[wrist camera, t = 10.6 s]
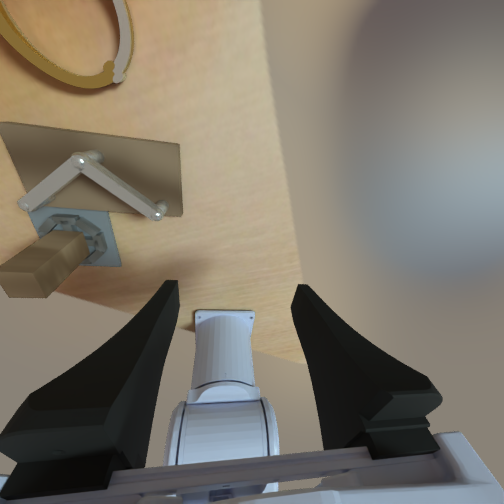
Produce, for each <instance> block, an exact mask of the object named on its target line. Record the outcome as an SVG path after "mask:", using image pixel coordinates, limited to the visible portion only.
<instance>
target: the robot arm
mask: <svg viewBox="0 0 504 504" xmlns="http://www.w3.org/2000/svg"><path fill="white" fill-rule="evenodd" d="M179 307H180V302H179V289H178V280H166V281H165V282H164V283H163V284H162V286H161V287H160V288H159V290H158V291H157V292H156V293H155V294H154V296H153V297H152V298H151V299H150V300H149V301H148V303H147V304H146V305H145V306H144V307H143V308H142V309H141V310H140V311H139V312H138V313H137V314H136V315H135V316H134V317H133V318H132V319H131V320H130V321H129V322H128V323H127V324H126V325H125V326H124V327H123V328H122V329H121V330H120V331H119V332H117V333H116V334H115V335H114V336H113V337H112V338H110V339H109V340H108V341H107V342H106V343H104V344H103V345H102V346H101V347H100V348H98V349H97V350H96V351H94V352H93V353H92V354H90V355H89V356H87V357H86V358H85V359H83V360H82V361H80V362H79V363H78V364H76V365H75V366H73V367H72V368H70V369H69V370H68V371H66V372H65V373H63V374H62V375H60V376H58V377H57V378H55V379H54V380H52V381H51V382H49V383H47V384H46V385H44V386H43V387H41V388H39V389H38V390H36V391H34V392H33V393H31V394H29V396H28V397H27V398H26V400H25V401H24V402H23V403H22V404H21V406H20V407H19V408H18V410H17V411H16V413H15V414H14V415H13V417H12V418H11V420H10V421H9V422H8V424H7V425H6V427H5V428H4V430H3V431H2V433H1V434H0V452H1V453H3V454H4V455H6V456H8V457H9V458H11V459H12V460H14V461H16V462H17V465H16V467H15V468H14V470H13V472H12V473H11V475H5V474H0V504H504V490H503V489H502V487H501V486H500V484H499V483H498V482H497V480H496V479H495V478H494V476H493V475H492V474H491V472H490V471H489V470H488V468H487V467H486V466H485V464H484V463H483V461H482V460H481V459H480V457H479V456H478V455H477V453H476V452H475V451H474V449H473V448H472V446H471V445H470V444H469V443H468V441H467V440H466V439H465V437H464V436H463V434H462V433H461V432H459V431H454V432H444V433H437V434H434V435H432V434H431V433H430V431H429V430H428V428H427V427H430V423H429V422H428V420H427V419H426V417H425V416H426V415H427V414H429V413H430V412H431V411H433V410H434V409H436V408H437V407H438V406H439V405H440V404H441V403H442V396H441V394H440V393H439V392H438V391H437V389H436V388H435V386H434V385H433V384H432V382H431V381H430V380H429V378H428V377H427V376H425V375H423V374H421V373H420V372H418V371H416V370H414V369H412V368H411V367H409V366H407V365H405V364H403V363H402V362H400V361H398V360H397V359H395V358H394V357H392V356H390V355H388V354H387V353H386V352H384V351H382V350H381V349H380V348H378V347H377V346H375V345H374V344H372V343H371V342H370V341H368V340H367V339H365V338H364V337H363V336H361V335H360V334H359V333H358V332H356V331H355V330H354V329H353V328H351V327H350V326H349V325H348V324H347V323H345V321H343V320H342V319H341V318H340V317H339V316H338V315H337V314H336V313H335V312H334V311H333V310H332V309H331V308H330V307H329V306H328V305H326V303H325V302H324V301H323V300H322V299H321V298H320V297H319V296H318V295H317V294H316V293H315V292H314V291H313V290H312V289H311V288H310V287H309V286H308V285H306V284H298V286H297V289H296V292H295V295H294V298H293V301H292V304H291V312H292V317H293V322H294V325H295V328H296V331H297V334H298V337H299V340H300V343H301V346H302V349H303V352H304V355H305V358H306V361H307V364H308V369H309V373H310V377H311V381H312V386H313V391H314V395H315V400H316V405H317V411H318V416H319V422H320V428H321V435H322V441H323V448H324V451H314V452H303V453H293V454H283V455H279V437H278V429H277V422H276V417H275V413H274V410H273V407H272V405H271V404H270V403H269V401H268V400H267V398H265V397H260V391H259V387H255V381H254V370H253V361H252V351H251V341H250V337H251V332H252V327H253V323H254V318H255V312H254V311H218V310H198V311H196V312H195V335H196V353H195V361H194V368H193V376H192V384H191V390H188V395H187V402H186V401H181V402H180V403H179V405H178V406H177V407H176V408H175V409H174V410H173V413H172V416H171V419H170V423H169V428H168V433H167V439H166V445H165V452H164V461H163V466H162V467H151V468H144V467H145V463H146V457H147V451H148V446H149V440H150V434H151V428H152V422H153V417H154V411H155V406H156V401H157V396H158V390H159V386H160V381H161V376H162V371H163V366H164V363H165V359H166V356H167V353H168V349H169V346H170V343H171V340H172V336H173V333H174V330H175V326H176V323H177V318H178V313H179ZM327 476H330V477H327ZM319 477H327V478H323V479H322V480H321V483H320V484H319V485H318V486H316V487H315V488H307V489H295V490H284V491H278V482H285V481H293V480H301V479H310V478H319Z"/></svg>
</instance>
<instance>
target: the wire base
mask: <svg viewBox="0 0 504 504" xmlns="http://www.w3.org/2000/svg"><path fill="white" fill-rule="evenodd" d="M0 134H1V136H2V138H3V141H4V143H5V145H6V147H7V150H8V152H9V154H10V156H11V158H12V161H13V163H14V165H15V167H16V169H17V172H18V174H19V176H20V178H21V181H22V183H23V185H24V187H25V189H26V192H27V193H28V192H29V191H31V190H32V189H33V188H34V187H35V186H37V185H38V184H39V183H40V182H41V181H43V180H44V179H45V178H46V177H48V176H49V175H50V174H51V173H52V172H54V171H55V170H56V169H57V168H58V167H60V166H61V165H62V164H63V163H64V162H66V161H67V160H68V159H69V158H70V157H71V155H72V154H73V153H75V152H86V151H89V150H93V149H96V150H99V151H100V152H101V153H102V154H103V155H104V162H103V163H101V165H102V166H104V167H105V168H106V169H108V170H109V171H110V172H112V173H113V174H115V175H116V176H117V177H119V178H120V179H121V180H123V181H124V182H126V183H127V184H128V185H130V186H131V187H132V188H134V189H135V190H137V191H138V192H139V193H141V194H142V195H143V196H145V197H146V198H148V199H149V200H150V201H152V202H153V203H154V204H156V203H157V202H158V201H159V200H165V201H167V202H168V204H169V208H168V210H167V211H166V213H165V214H164V216H176V217H181V216H182V214H183V204H182V184H181V163H180V144H177V143H169V142H162V141H154V140H146V139H138V138H131V137H123V136H115V135H108V134H100V133H92V132H84V131H77V130H69V129H61V128H54V127H46V126H38V125H30V124H23V123H15V122H0ZM55 197H56V198H55V200H54V201H52V202H50V203H48V204H46V205H44V206H48V207H61V208H73V209H86V210H99V211H112V212H125V213H138V214H142V213H140V212H139V211H137V210H136V209H134V208H133V207H132V206H130V205H129V204H127V203H126V202H124V201H123V200H121V199H120V198H118V197H117V196H115V195H114V194H112V193H111V192H110V191H108V190H107V189H105V188H104V187H102V186H101V185H99V184H98V183H96V182H95V181H93V180H92V179H90V178H89V177H88V176H86V175H85V174H83V173H82V174H81V175H79V176H78V177H77V178H76V179H74V180H73V181H72V182H70V183H69V184H68V185H67V186H65V187H64V188H63V189H62V190H60V191H59V192H58V193H57V194H55Z"/></svg>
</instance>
